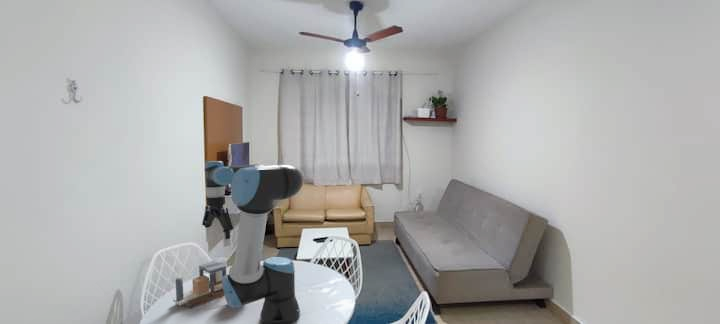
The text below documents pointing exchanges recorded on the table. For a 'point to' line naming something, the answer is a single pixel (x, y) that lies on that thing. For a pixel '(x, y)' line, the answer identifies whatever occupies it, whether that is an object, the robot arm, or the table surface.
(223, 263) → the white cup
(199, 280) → the u-shaped holder
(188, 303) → the grey legged frame
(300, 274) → the table surface
